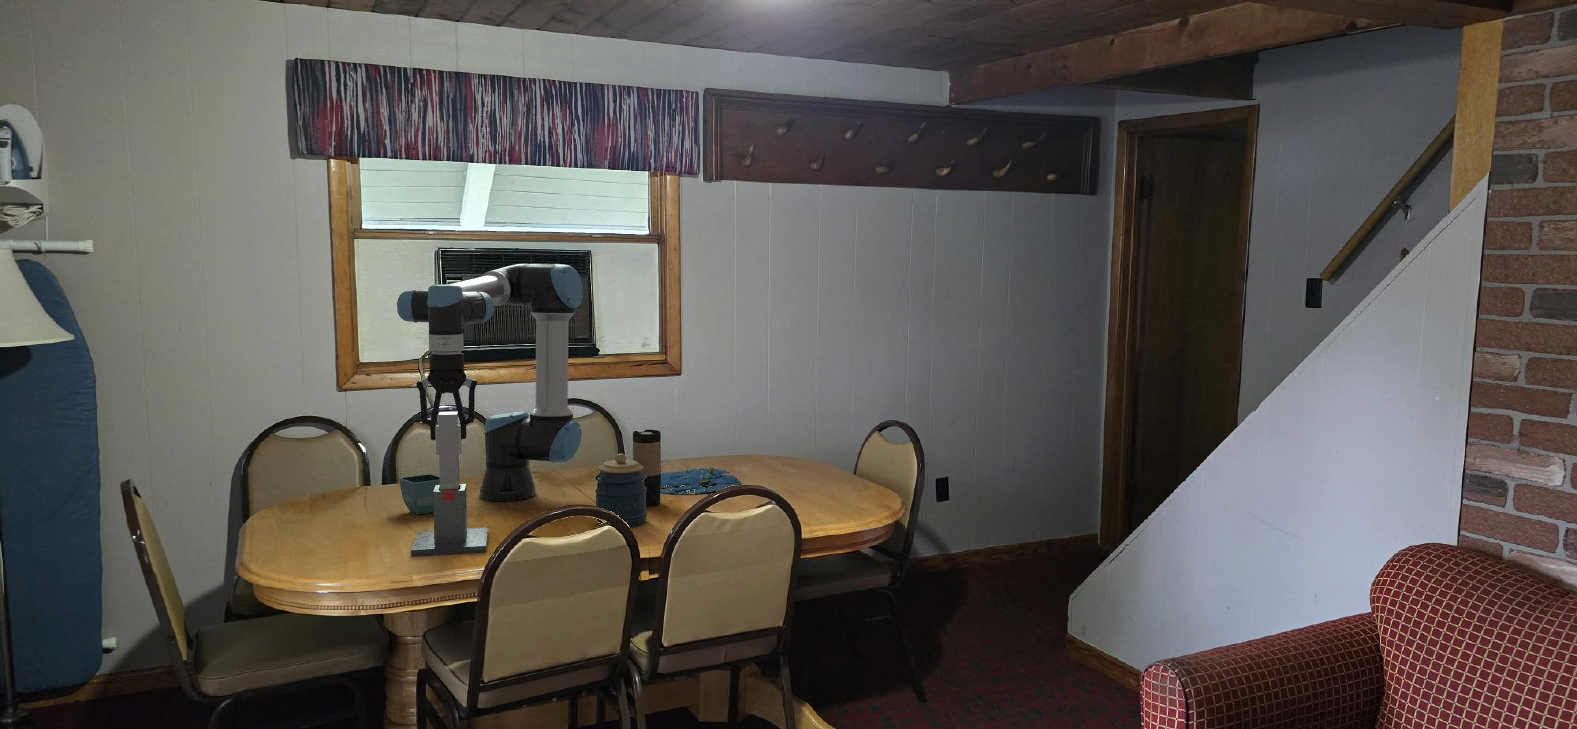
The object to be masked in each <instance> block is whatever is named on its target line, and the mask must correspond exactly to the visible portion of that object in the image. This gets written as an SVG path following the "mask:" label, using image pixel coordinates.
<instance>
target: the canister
mask: <svg viewBox="0 0 1577 729" xmlns="http://www.w3.org/2000/svg"><path fill="white" fill-rule="evenodd" d="M597 469H598V470H599V473H597V474H596V475H595V476H594V479H595V481H596V488H595V489H594V490H595V507H596V506H597V507H599V508H604V509H606V510H608V511H612V512H614V513H615V514H616V515H619V517H620V518H621V519H623V520H624V521H625V522H627V524H628V525H629V526H631V527H630V528H633V527H638V526H641V525H643V524H646V522H647V517H648V511H647V507H646V490H647V488H646V487H645V479H646V478H647V475H646V474H645V473H643V472H642V469H643V466H642V465H641V464H639V463H638V462H637V461H634V460H633V459H627V457H626V454H624V453H618V454H617V455H616V456H615V459H611V460H606V461H605V462H604V463H602V464H601V465H599V466H598V467H597ZM596 520H597V521H598V522H600V523H598V524H601V523H603V522H602V521H601V520H599V519H596V518H595V521H596ZM598 524H597V525H598Z"/></svg>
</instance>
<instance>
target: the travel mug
mask: <svg viewBox="0 0 1577 729" xmlns="http://www.w3.org/2000/svg"><path fill="white" fill-rule="evenodd" d="M661 437H662V436H661V430H659V429H645V430H644V431H638V430H633V431H632V460H634V461H637V462H638V463H639V464H641V465H642V466H643V469H642V472H643V473H645V474H646V475H647V478H646V479H645V487H646V488H647V490H646V508H653V507H658V506H660V505H661V490H662V489H661V473H662V448H661V447H662V443H661V442H662V441H661ZM659 504H660V505H659Z"/></svg>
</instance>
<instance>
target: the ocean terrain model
mask: <svg viewBox="0 0 1577 729" xmlns="http://www.w3.org/2000/svg"><path fill="white" fill-rule="evenodd" d="M738 479H739V478H737V476H735V475H734V474H730V472H729V471H727V470H725V469H724V470H723V469H721V468H720V469H715V467H714V466H713V465H712V466H709V467H707V468H702V467H701V468H695V469H689V470H688V469H687V470H686V469H685V470H680V471H668V472H666V471H665V472H661V492H660V494H661V493H665V494H670V493H672V495H678V494H677V493H680V495H687V494H686V493H687V492H686V490H690V492H691V493H695V495H696V493H699V494H701V493H712V492H714V491H715V492H717V491H716V490H719V489H723V488H725V487H728V486H731V485H740V483H741V480H738ZM666 485H667V487H666ZM668 485H669V486H668ZM677 485H678V486H677ZM681 485H685V486H686V487H685V486H682V487H680V486H681ZM704 485H705V488H703V487H704ZM711 485H716V486H712V487H709V486H711ZM664 486H665V487H664ZM671 486H676V487H678V488H674V487H671ZM700 486H702V487H700ZM669 487H671V488H669ZM689 487H690V488H689ZM707 487H709V488H707ZM662 488H664V489H665V488H666V489H667V488H668V489H667V490H664V489H662ZM672 488H673V489H672ZM670 489H672V490H670ZM693 489H696V490H695V492H694V490H693ZM702 489H703V490H702ZM704 489H705V491H704ZM673 493H674V494H673ZM682 493H684V494H682ZM688 493H689V491H688Z"/></svg>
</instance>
